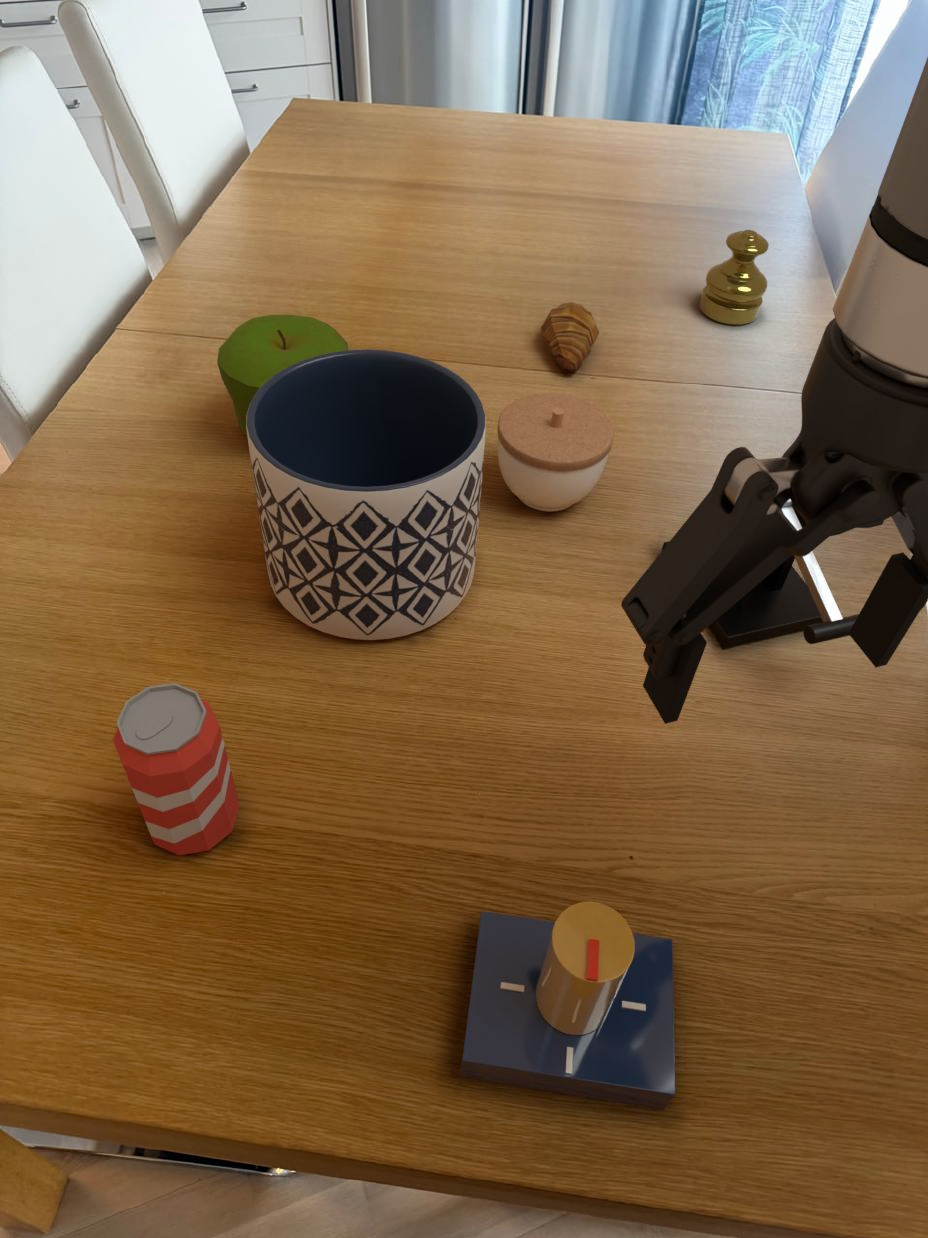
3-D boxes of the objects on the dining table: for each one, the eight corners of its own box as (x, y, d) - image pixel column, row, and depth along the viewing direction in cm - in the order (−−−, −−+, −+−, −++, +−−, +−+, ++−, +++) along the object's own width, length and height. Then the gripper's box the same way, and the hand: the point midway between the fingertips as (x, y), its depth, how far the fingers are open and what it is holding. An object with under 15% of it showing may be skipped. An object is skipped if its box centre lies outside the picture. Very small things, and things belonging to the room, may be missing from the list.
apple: (260, 480, 90) (246, 379, 81) (211, 414, 96) (193, 315, 88) (374, 442, 95) (371, 343, 86) (319, 382, 101) (312, 285, 93)
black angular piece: (824, 626, 80) (881, 514, 71) (722, 649, 78) (767, 537, 68) (754, 535, 88) (797, 423, 78) (660, 553, 85) (692, 441, 76)
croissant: (540, 314, 113) (545, 275, 110) (595, 319, 113) (602, 280, 109) (537, 375, 104) (542, 335, 100) (597, 381, 104) (604, 341, 100)
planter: (298, 669, 74) (278, 514, 62) (247, 524, 85) (222, 369, 73) (506, 614, 79) (525, 461, 67) (432, 484, 90) (437, 333, 78)
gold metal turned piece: (746, 295, 119) (769, 218, 112) (766, 325, 114) (791, 247, 107) (691, 296, 118) (710, 218, 111) (709, 327, 113) (730, 248, 106)
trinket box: (597, 535, 87) (613, 455, 80) (484, 518, 88) (491, 437, 81) (604, 465, 94) (620, 386, 87) (500, 450, 95) (508, 370, 88)
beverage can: (129, 821, 64) (86, 719, 56) (204, 765, 68) (174, 660, 59) (183, 877, 62) (147, 779, 53) (258, 816, 65) (235, 714, 56)
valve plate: (662, 958, 60) (673, 938, 57) (664, 1110, 54) (676, 1094, 51) (478, 930, 60) (481, 909, 58) (459, 1077, 54) (462, 1060, 52)
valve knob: (538, 955, 56) (555, 893, 50) (610, 966, 56) (636, 905, 50) (532, 1029, 53) (549, 973, 47) (608, 1041, 53) (635, 986, 47)
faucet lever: (860, 636, 72) (877, 624, 70) (804, 649, 71) (820, 637, 69) (789, 482, 77) (803, 466, 75) (736, 491, 76) (749, 476, 74)
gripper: (691, 450, 31) (593, 786, 47) (1235, 349, 37) (988, 675, 53) (599, 333, 36) (538, 674, 52) (1097, 261, 42) (907, 585, 58)
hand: (766, 675), depth 52 cm, fingers open, 13 cm apart
